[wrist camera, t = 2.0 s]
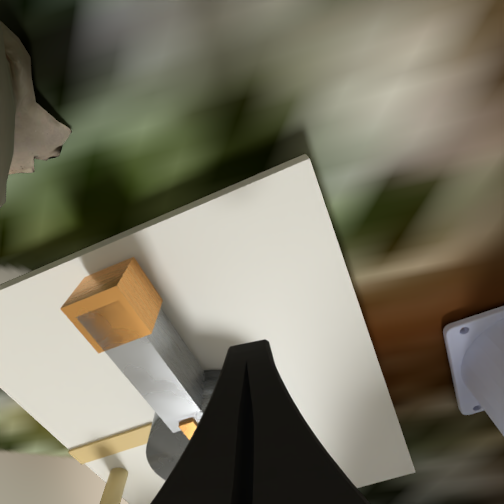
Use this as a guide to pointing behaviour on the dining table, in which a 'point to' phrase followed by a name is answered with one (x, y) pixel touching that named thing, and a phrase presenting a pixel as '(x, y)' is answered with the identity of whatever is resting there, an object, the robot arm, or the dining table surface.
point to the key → (144, 354)
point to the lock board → (210, 330)
